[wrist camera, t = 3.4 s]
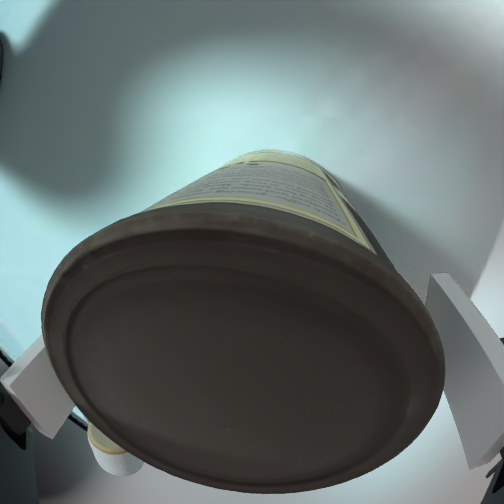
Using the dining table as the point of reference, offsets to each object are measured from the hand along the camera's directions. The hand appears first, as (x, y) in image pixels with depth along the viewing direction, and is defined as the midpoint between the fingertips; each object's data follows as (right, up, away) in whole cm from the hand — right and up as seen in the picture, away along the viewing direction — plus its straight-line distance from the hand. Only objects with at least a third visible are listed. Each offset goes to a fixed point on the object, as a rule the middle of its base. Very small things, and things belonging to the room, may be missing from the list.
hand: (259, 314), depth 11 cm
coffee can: (+1, +4, +8) cm, 9 cm away
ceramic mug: (-19, -22, +23) cm, 37 cm away
